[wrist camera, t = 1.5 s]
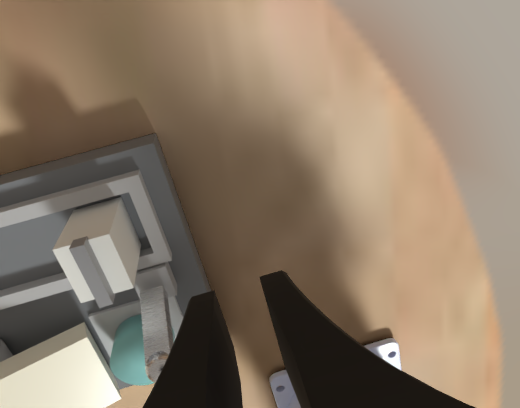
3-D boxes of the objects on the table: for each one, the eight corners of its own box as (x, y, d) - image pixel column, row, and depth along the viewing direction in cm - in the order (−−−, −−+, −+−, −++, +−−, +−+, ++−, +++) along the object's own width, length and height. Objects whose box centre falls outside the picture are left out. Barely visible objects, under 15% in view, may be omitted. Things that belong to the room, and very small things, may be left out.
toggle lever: (171, 294, 19) (182, 382, 17) (144, 302, 19) (152, 391, 16) (162, 281, 18) (173, 372, 16) (135, 289, 18) (141, 382, 16)
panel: (227, 336, 24) (233, 379, 21) (-60, 421, 23) (-93, 478, 20) (155, 133, 18) (150, 155, 16) (-222, 235, 18) (-298, 278, 15)
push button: (182, 349, 21) (182, 374, 20) (127, 366, 21) (123, 392, 20) (163, 307, 20) (162, 330, 19) (105, 324, 20) (99, 348, 18)
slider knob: (142, 246, 19) (133, 298, 15) (97, 259, 19) (79, 314, 15) (120, 195, 18) (105, 238, 14) (72, 208, 17) (46, 255, 14)
